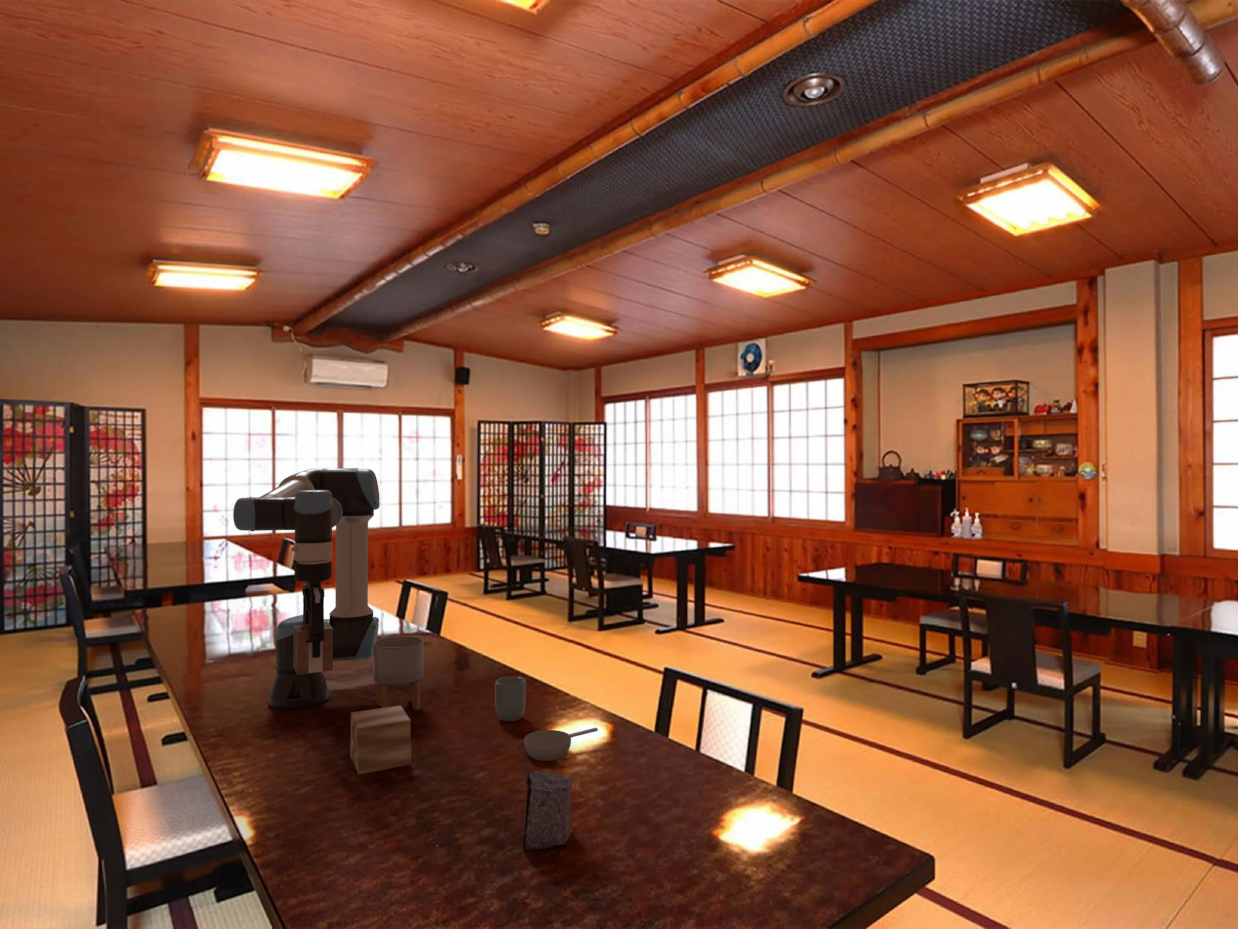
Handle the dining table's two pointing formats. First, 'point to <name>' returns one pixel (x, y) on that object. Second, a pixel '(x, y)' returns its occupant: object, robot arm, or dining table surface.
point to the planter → (398, 668)
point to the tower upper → (380, 728)
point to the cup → (510, 698)
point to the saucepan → (550, 743)
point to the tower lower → (380, 757)
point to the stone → (547, 810)
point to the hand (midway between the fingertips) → (312, 667)
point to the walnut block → (302, 648)
